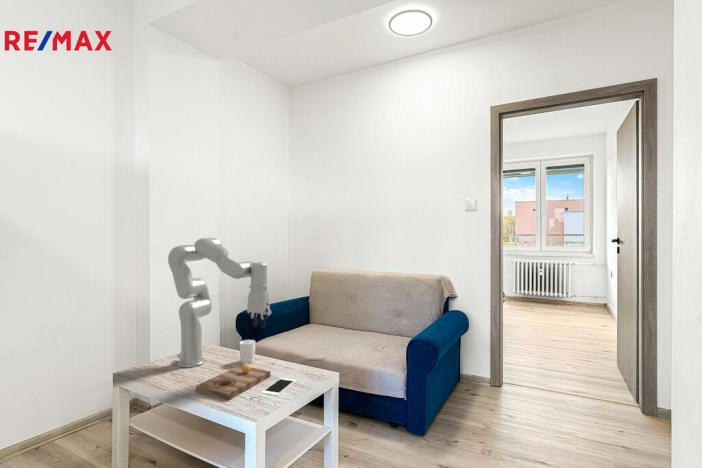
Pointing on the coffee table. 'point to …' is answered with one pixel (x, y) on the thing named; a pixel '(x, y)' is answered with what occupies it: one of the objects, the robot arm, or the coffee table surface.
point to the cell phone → (278, 386)
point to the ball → (246, 368)
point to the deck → (232, 382)
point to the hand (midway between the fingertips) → (259, 326)
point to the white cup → (247, 351)
